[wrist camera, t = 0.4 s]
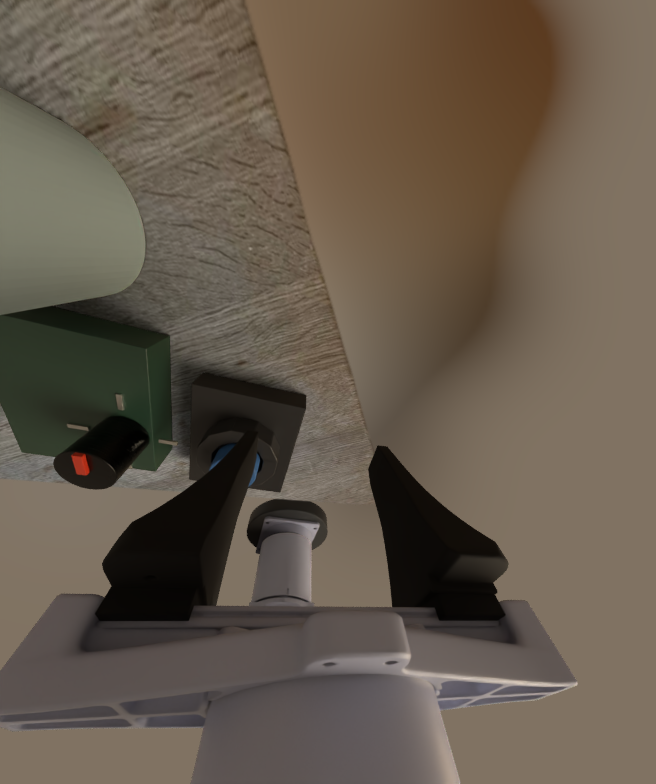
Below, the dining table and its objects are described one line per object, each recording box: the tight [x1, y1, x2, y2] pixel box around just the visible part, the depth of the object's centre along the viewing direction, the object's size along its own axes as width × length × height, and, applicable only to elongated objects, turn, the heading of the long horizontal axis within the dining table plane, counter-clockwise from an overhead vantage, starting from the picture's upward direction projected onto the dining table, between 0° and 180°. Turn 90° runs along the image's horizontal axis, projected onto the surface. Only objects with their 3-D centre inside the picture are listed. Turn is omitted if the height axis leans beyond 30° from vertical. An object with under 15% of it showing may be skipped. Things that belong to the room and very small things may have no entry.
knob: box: [53, 417, 150, 489], centre depth 17 cm, size 4×4×4 cm
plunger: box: [209, 443, 260, 486], centre depth 19 cm, size 4×4×2 cm
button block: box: [189, 372, 306, 492], centre depth 21 cm, size 11×9×4 cm
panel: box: [0, 306, 178, 471], centre depth 19 cm, size 12×12×3 cm
